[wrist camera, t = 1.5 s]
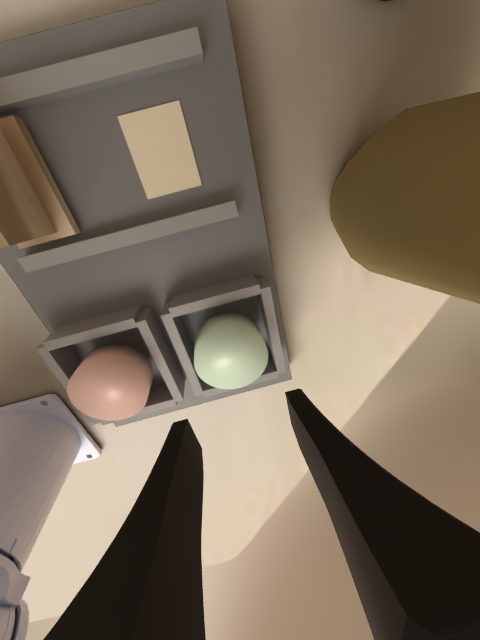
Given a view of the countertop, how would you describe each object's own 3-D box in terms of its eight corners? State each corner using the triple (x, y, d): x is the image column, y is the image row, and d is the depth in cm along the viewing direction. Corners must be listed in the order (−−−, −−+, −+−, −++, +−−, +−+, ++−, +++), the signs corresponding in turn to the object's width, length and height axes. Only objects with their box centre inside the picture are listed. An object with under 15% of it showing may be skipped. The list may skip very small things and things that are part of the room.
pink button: (102, 404, 18) (91, 428, 16) (67, 354, 15) (50, 376, 14) (163, 387, 18) (158, 409, 16) (137, 336, 15) (128, 354, 14)
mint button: (206, 376, 18) (206, 397, 16) (185, 323, 15) (183, 340, 14) (266, 359, 18) (273, 378, 16) (254, 304, 16) (260, 319, 14)
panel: (121, 412, 22) (107, 449, 19) (-93, 89, 12) (-201, 52, 8) (286, 367, 22) (300, 396, 19) (220, 7, 12) (227, -59, 9)
